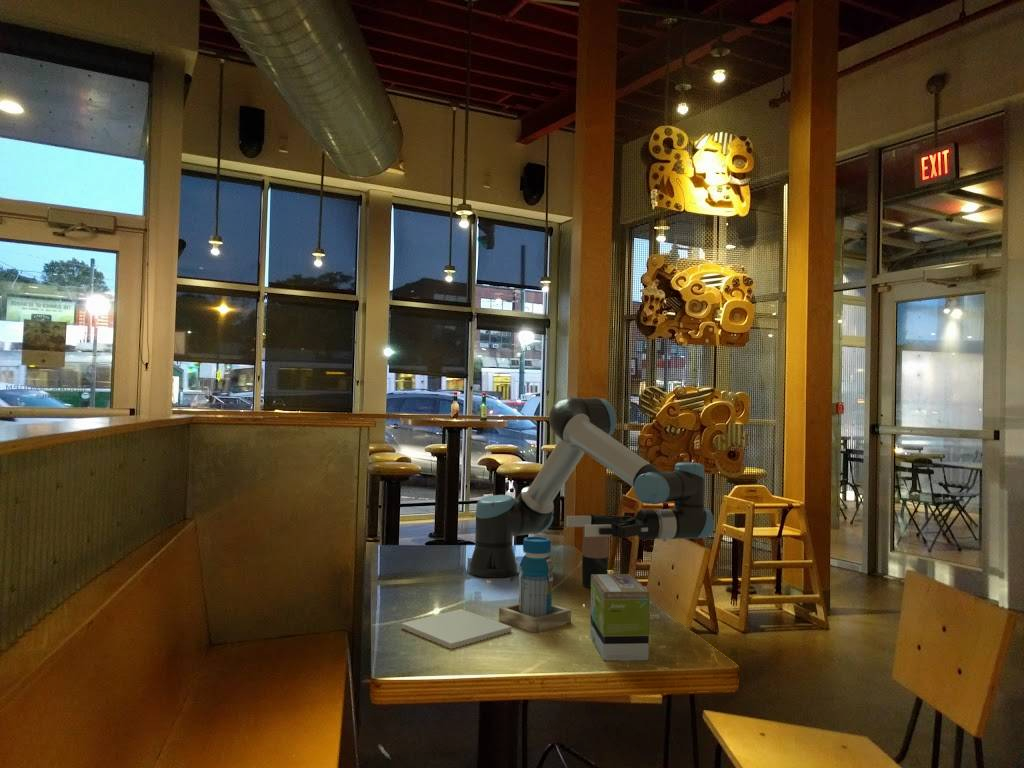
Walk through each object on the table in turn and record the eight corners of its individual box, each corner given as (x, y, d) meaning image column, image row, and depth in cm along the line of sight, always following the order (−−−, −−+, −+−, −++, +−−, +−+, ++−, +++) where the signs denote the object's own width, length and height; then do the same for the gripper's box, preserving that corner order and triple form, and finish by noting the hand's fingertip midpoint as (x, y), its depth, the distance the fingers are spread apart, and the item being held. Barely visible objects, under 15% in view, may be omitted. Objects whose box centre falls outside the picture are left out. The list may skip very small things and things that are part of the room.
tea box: (588, 637, 162) (590, 572, 162) (631, 637, 163) (633, 572, 163) (602, 661, 147) (604, 589, 147) (649, 661, 148) (651, 590, 148)
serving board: (401, 628, 165) (401, 623, 165) (460, 613, 177) (460, 609, 177) (451, 649, 152) (451, 643, 152) (511, 631, 164) (511, 626, 164)
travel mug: (607, 582, 213) (608, 515, 213) (608, 589, 205) (609, 519, 206) (581, 581, 213) (583, 514, 214) (581, 587, 206) (583, 518, 206)
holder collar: (498, 620, 173) (499, 607, 173) (534, 610, 182) (534, 599, 182) (535, 633, 164) (536, 619, 164) (570, 622, 173) (571, 610, 173)
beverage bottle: (528, 628, 167) (530, 543, 168) (511, 618, 175) (513, 536, 175) (558, 624, 171) (560, 540, 172) (541, 614, 178) (543, 534, 179)
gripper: (677, 549, 169) (593, 551, 164) (633, 530, 193) (559, 532, 188) (677, 517, 169) (594, 518, 164) (634, 503, 193) (560, 503, 188)
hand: (575, 526), depth 176 cm, fingers open, 13 cm apart
